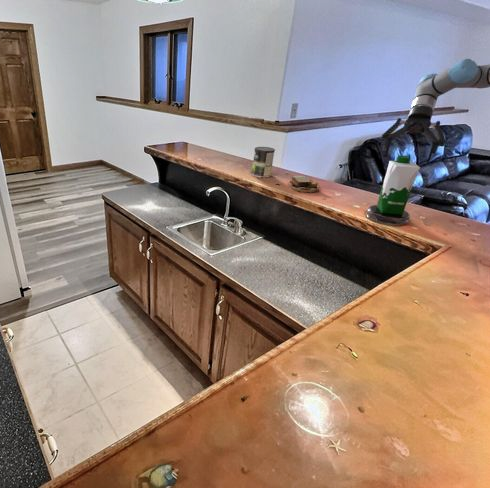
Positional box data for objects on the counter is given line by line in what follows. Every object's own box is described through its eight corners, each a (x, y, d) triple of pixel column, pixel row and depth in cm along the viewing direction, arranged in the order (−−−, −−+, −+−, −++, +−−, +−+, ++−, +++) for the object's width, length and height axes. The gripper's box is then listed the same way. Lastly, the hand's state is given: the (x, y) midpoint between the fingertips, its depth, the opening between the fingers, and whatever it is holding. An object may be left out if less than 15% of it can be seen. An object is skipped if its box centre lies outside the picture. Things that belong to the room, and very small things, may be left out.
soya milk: (397, 207, 136) (415, 156, 127) (406, 216, 128) (425, 161, 119) (373, 205, 138) (388, 154, 129) (380, 213, 130) (397, 160, 121)
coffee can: (253, 177, 184) (257, 150, 178) (249, 172, 193) (252, 146, 187) (273, 177, 184) (277, 150, 178) (268, 172, 193) (272, 146, 187)
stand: (408, 217, 136) (411, 209, 134) (406, 229, 126) (409, 220, 124) (368, 210, 143) (370, 202, 141) (363, 220, 133) (365, 212, 131)
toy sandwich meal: (296, 193, 161) (298, 183, 159) (285, 184, 173) (287, 175, 171) (322, 193, 162) (324, 183, 160) (310, 184, 174) (312, 175, 172)
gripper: (458, 120, 131) (444, 168, 127) (383, 115, 144) (368, 158, 139) (465, 106, 125) (450, 156, 120) (385, 102, 137) (370, 147, 133)
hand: (406, 157), depth 130 cm, fingers open, 13 cm apart
